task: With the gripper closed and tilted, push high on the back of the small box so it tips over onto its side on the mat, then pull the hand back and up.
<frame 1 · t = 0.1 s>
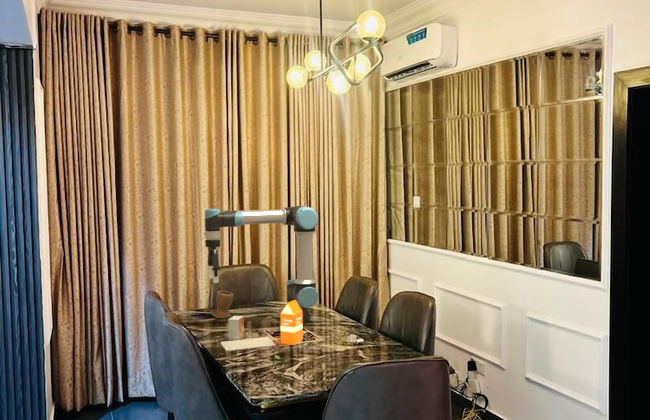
hand: (213, 280, 293), 28 cm above the table, tool pointing down, fingers open, 13 cm apart
teacup and saucer: (357, 345, 276), on the table
mat: (247, 344, 277), on the table
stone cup: (222, 316, 333), on the table
orange juice: (291, 342, 281), on the table
small box: (236, 338, 287), on the table
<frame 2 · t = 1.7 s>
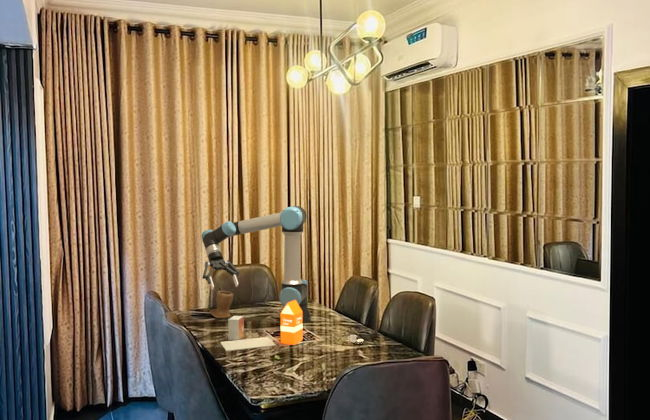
hand: (225, 287, 298), 24 cm above the table, tool tilted 45°, fingers open, 13 cm apart
nothing on the table moved.
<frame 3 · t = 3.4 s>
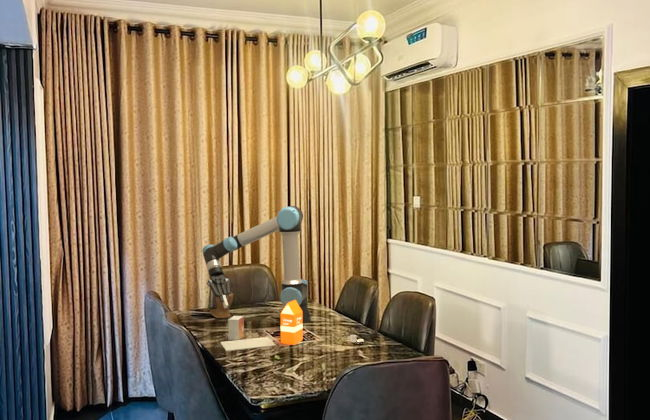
hand: (226, 306, 296), 14 cm above the table, tool tilted 45°, fingers closed
nothing on the table moved.
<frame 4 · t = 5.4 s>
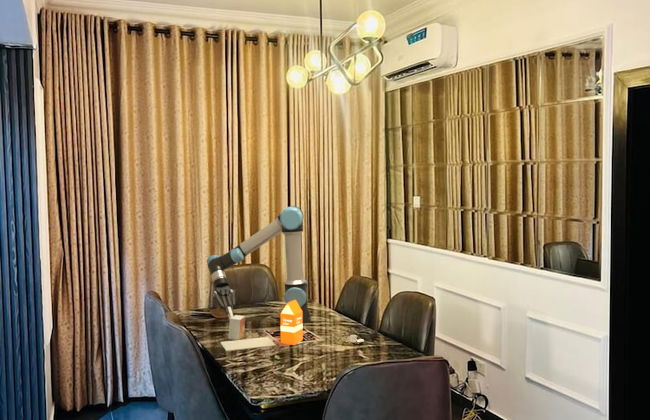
hand: (231, 318, 290), 9 cm above the table, tool tilted 45°, fingers closed
small box: (236, 338, 287), on the table, touching gripper
everything else where it was.
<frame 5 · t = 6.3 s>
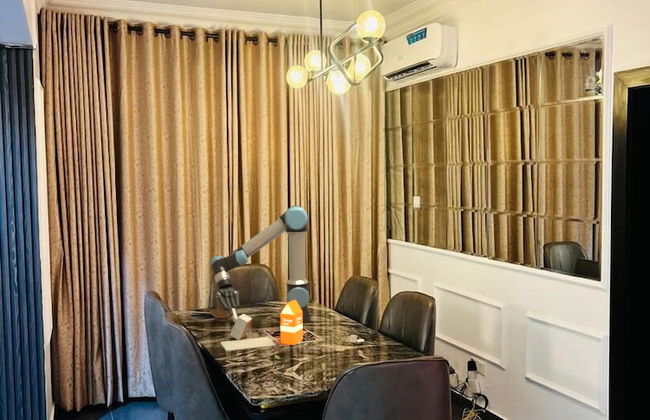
hand: (236, 320, 287), 9 cm above the table, tool tilted 45°, fingers closed
small box: (236, 336, 287), point 1 cm above the table
everything else where it was.
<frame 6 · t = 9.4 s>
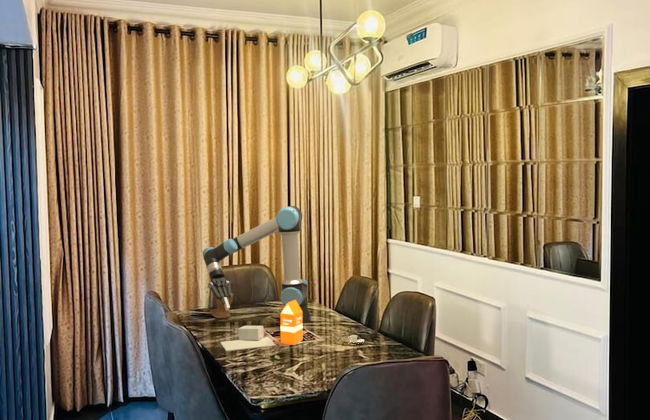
hand: (228, 308, 295), 13 cm above the table, tool tilted 45°, fingers closed
small box: (240, 332, 287), point 3 cm above the table, touching mat
everything else where it was.
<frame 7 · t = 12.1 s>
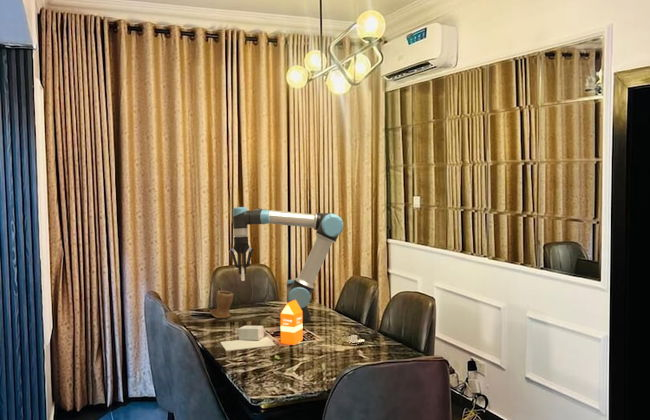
hand: (242, 280, 305), 26 cm above the table, tool pointing down, fingers closed
nothing on the table moved.
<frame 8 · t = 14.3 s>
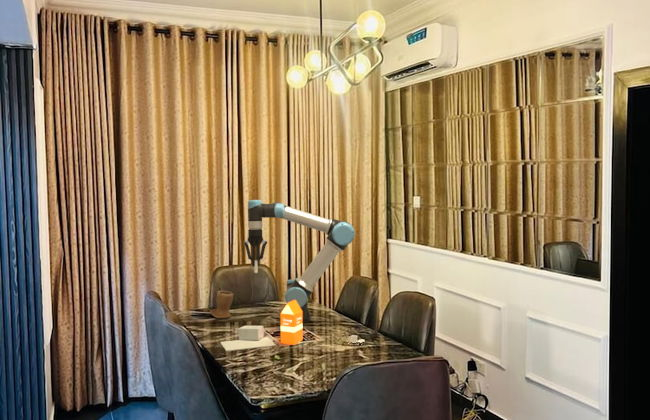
hand: (255, 272, 309), 29 cm above the table, tool pointing down, fingers closed
nothing on the table moved.
at the end: small box tilted 88°; small box touching mat, table; small box inside the target area (5.6 cm from its centre), point 2.9 cm above the table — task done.
